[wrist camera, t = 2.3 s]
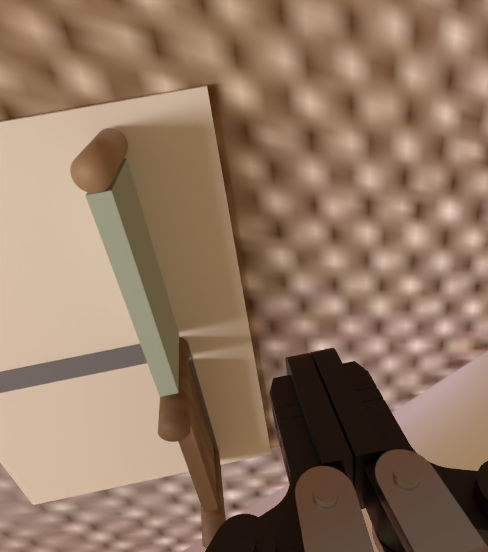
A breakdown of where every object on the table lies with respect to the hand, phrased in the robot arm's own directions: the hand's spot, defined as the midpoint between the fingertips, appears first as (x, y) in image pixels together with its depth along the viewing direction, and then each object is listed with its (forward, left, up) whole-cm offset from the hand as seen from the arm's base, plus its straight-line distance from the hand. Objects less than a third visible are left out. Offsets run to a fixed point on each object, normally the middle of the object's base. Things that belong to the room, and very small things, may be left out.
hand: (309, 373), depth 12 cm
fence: (+7, +18, -16) cm, 25 cm away
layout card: (+13, +10, -17) cm, 23 cm away
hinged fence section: (+7, +2, -16) cm, 17 cm away
